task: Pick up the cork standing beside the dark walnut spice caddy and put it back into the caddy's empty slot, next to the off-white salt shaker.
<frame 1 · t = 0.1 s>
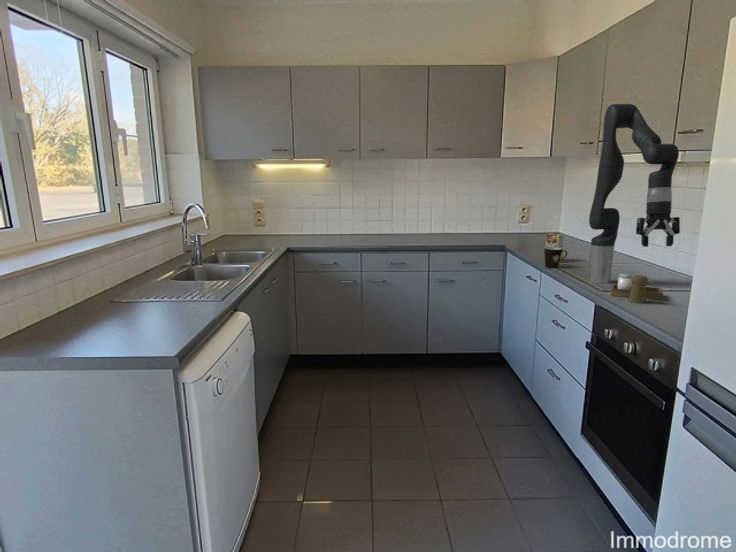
hand: (657, 246, 165), 22 cm above the worktop, tool pointing down, fingers open, 8 cm apart
spice caddy: (635, 298, 180), on the worktop
coffee mug: (554, 267, 239), on the worktop
cork: (636, 304, 172), on the worktop
salt shaker: (623, 294, 182), point 1 cm above the worktop, touching spice caddy
candy box: (552, 261, 254), on the worktop
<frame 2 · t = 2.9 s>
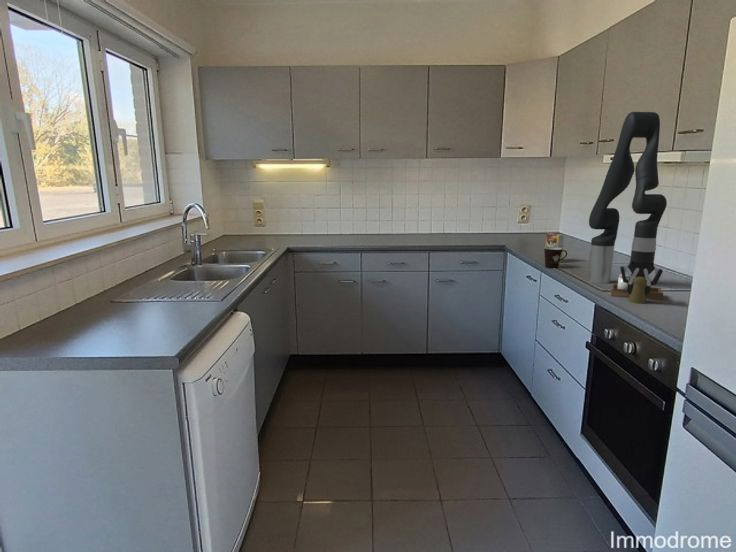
hand: (637, 294, 171), 4 cm above the worktop, tool pointing down, fingers closed on cork, 4 cm apart
cork: (636, 304, 172), on the worktop, touching gripper
everything else where it was.
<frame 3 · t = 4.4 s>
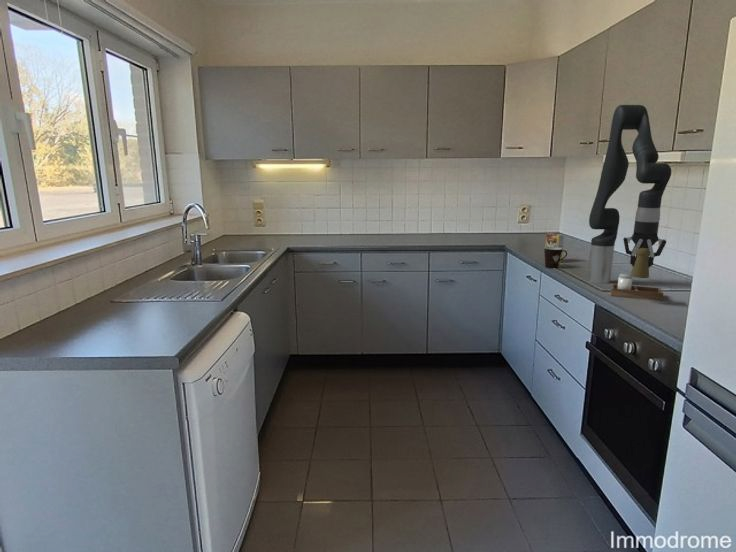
hand: (640, 266, 169), 15 cm above the worktop, tool pointing down, fingers closed on cork, 4 cm apart
cork: (639, 276, 170), point 11 cm above the worktop, touching gripper
everything else where it was.
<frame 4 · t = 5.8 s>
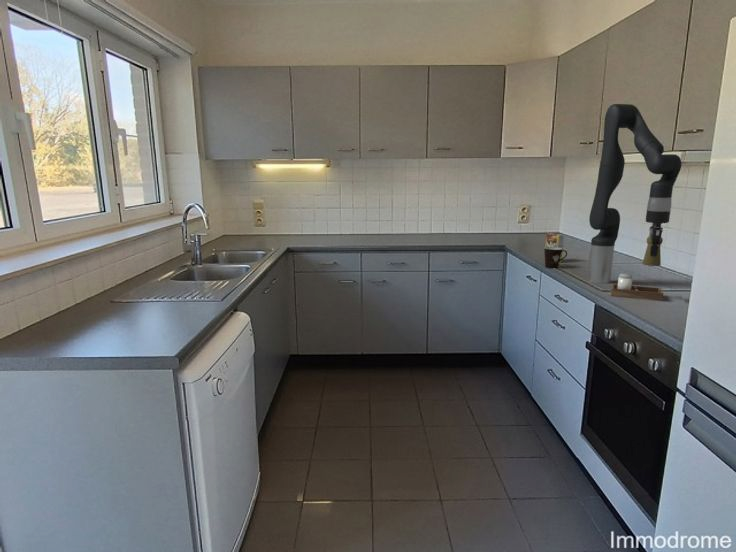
hand: (652, 254, 175), 18 cm above the worktop, tool pointing down, fingers closed on cork, 4 cm apart
cork: (651, 264, 175), point 14 cm above the worktop, touching gripper
everything else where it was.
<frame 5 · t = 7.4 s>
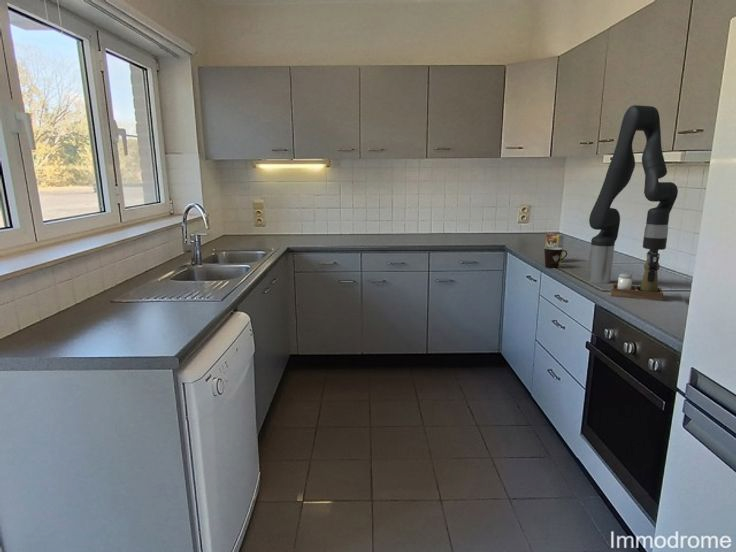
hand: (650, 279, 177), 8 cm above the worktop, tool pointing down, fingers closed on cork, 4 cm apart
cork: (648, 290, 177), point 4 cm above the worktop, touching gripper
everything else where it was.
when the fingers open (6 cm above the worktop, at t = 8.6 s): cork drops 1 cm, resting on spice caddy.
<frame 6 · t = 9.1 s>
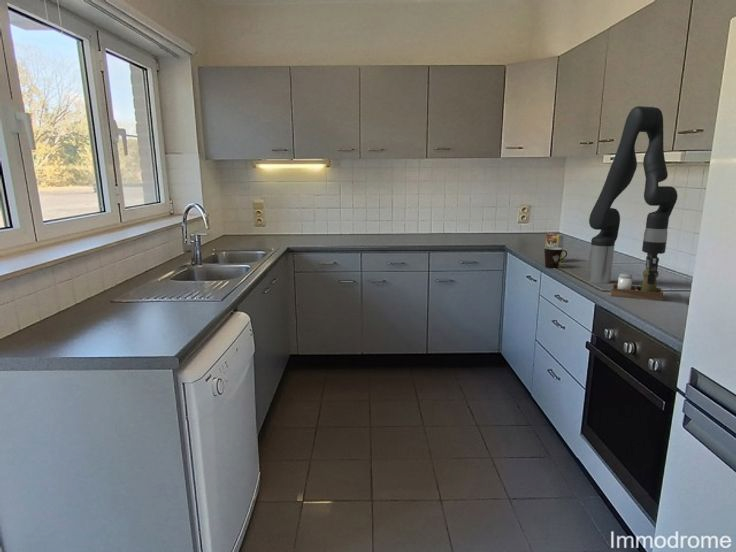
hand: (649, 281, 177), 7 cm above the worktop, tool pointing down, fingers open, 8 cm apart
cork: (647, 297, 178), point 1 cm above the worktop, touching spice caddy
everything else where it was.
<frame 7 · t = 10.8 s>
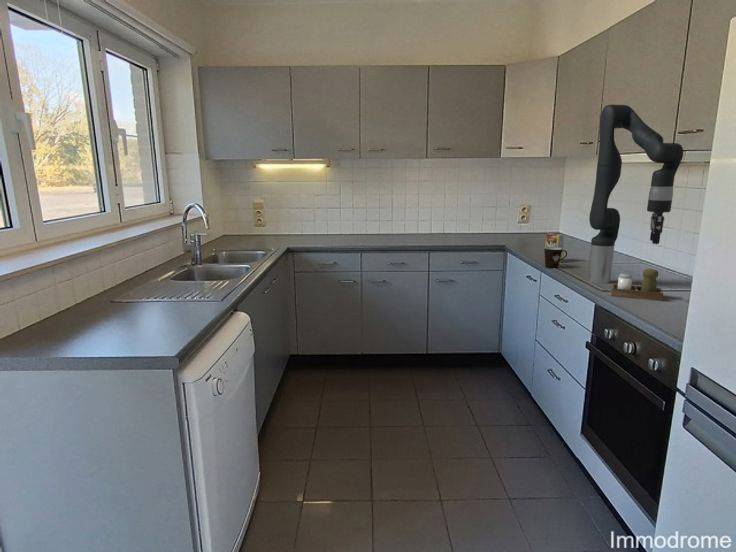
hand: (654, 242, 174), 22 cm above the worktop, tool pointing down, fingers open, 8 cm apart
nothing on the worktop moved.
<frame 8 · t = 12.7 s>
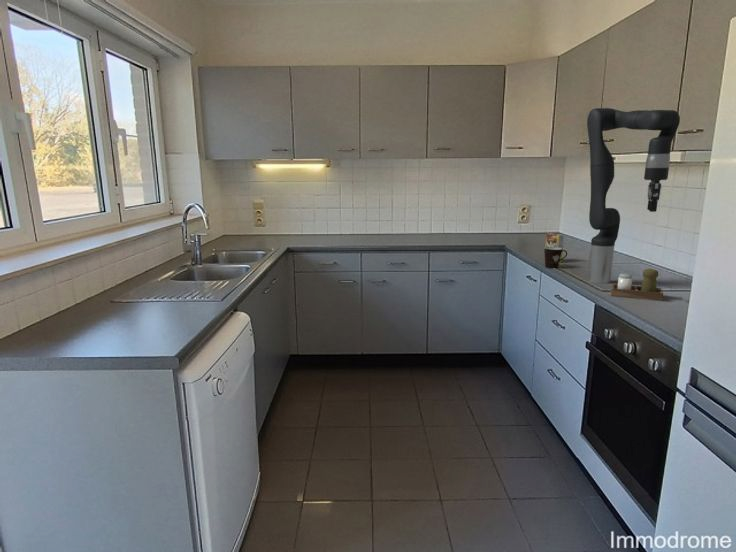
hand: (651, 210, 173), 34 cm above the worktop, tool pointing down, fingers open, 8 cm apart
nothing on the worktop moved.
at the end: cork 0.1 cm from the target spot on the spice caddy, point 0.8 cm above the spice caddy's base; cork tilted 0°; the gripper is holding nothing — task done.
